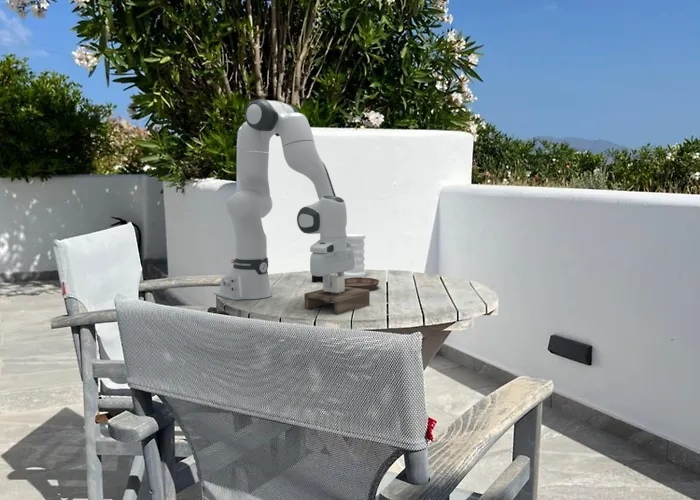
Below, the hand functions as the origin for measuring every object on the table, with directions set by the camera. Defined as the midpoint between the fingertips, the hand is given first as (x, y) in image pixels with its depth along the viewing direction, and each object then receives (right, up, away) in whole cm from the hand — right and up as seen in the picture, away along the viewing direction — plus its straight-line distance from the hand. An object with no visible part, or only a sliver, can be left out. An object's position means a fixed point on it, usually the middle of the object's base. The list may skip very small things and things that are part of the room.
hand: (333, 286), depth 205 cm
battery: (-7, -1, +52) cm, 53 cm away
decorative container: (+7, +1, +68) cm, 69 cm away
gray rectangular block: (0, -5, +1) cm, 5 cm away
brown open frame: (+1, -7, +2) cm, 8 cm away
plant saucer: (+8, -3, +38) cm, 39 cm away
